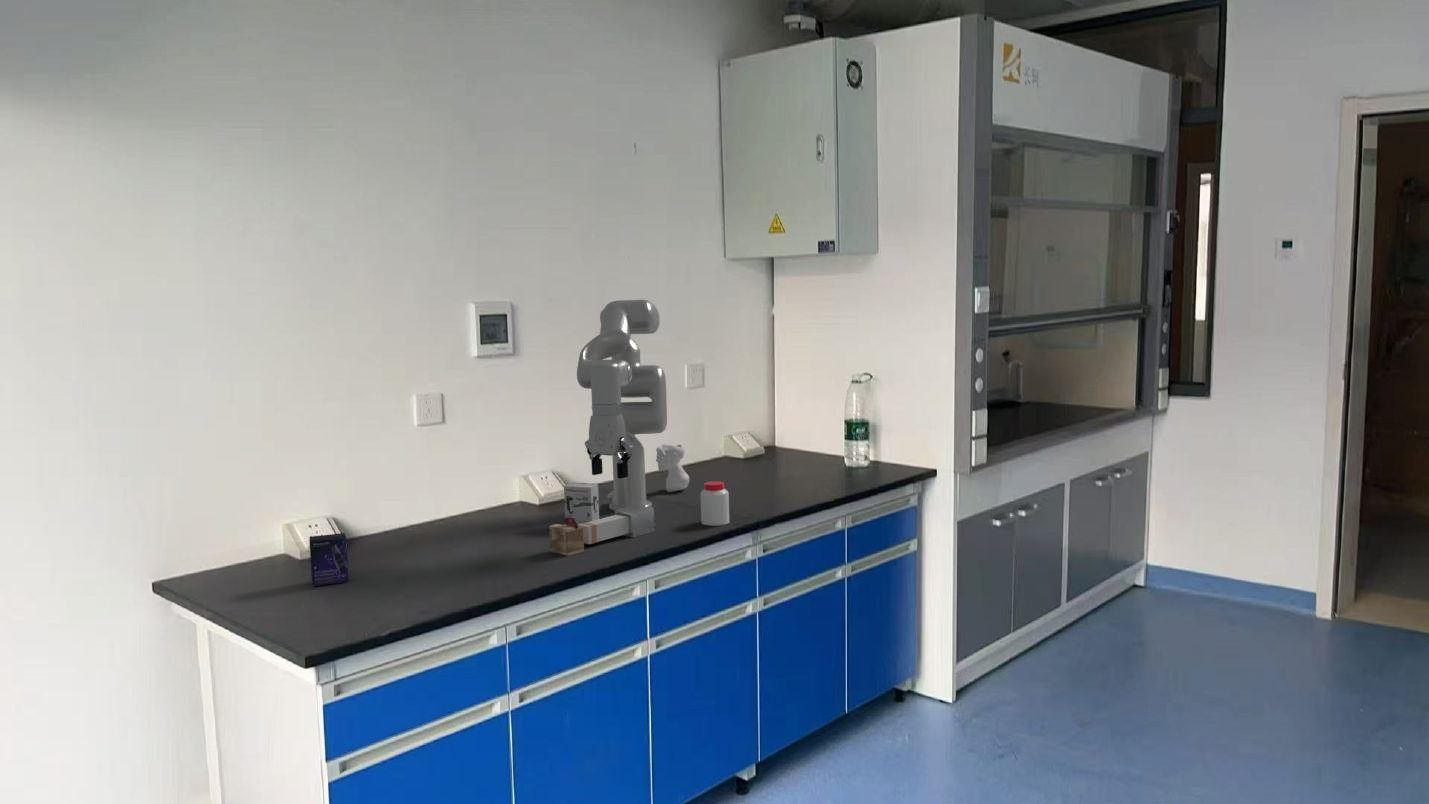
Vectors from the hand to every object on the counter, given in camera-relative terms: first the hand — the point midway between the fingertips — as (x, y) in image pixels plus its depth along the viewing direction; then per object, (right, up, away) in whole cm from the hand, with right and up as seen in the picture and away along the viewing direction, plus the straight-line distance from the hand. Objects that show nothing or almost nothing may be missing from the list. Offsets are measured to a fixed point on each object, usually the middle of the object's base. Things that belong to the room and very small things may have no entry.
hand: (609, 476), depth 260 cm
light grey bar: (+1, -17, +4) cm, 17 cm away
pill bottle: (+27, -14, +18) cm, 36 cm away
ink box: (-10, -16, +19) cm, 26 cm away
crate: (-10, -18, -8) cm, 22 cm away
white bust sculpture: (+14, -10, +62) cm, 64 cm away
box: (-61, -23, -28) cm, 71 cm away
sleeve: (+6, -16, +9) cm, 19 cm away
